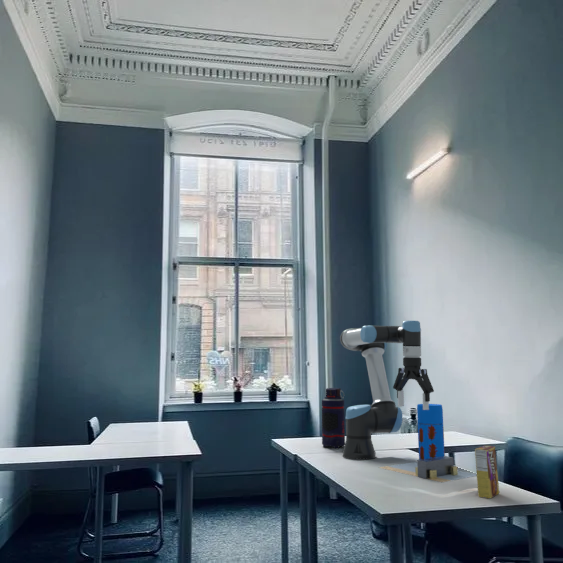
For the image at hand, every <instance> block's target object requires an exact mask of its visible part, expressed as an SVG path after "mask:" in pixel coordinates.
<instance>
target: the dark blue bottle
mask: <svg viewBox="0 0 563 563" xmlns="http://www.w3.org/2000/svg"><path fill="white" fill-rule="evenodd" d="M341 392H342V393H343V395H345V393H344V391H343V390H342V389H341V388H340V387H327V388H325V397H324V398H323V399H321V434H322V435H321V445H322V447H323V448H326V447H333V448H334V449H339V448H340V447H342V446H343V448H344V446H345V442H346V418H345V417H346V414H345V400H344V399H343V396H342V394H341Z"/></svg>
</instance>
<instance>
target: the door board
mask: <svg viewBox="0 0 563 563" xmlns="http://www.w3.org/2000/svg"><path fill="white" fill-rule="evenodd" d="M415 467H417V461H414V462H413V461H412V462H405V463H400V464H399V463H398V464H393V465H392V464H391V465H387V466H380V467H378V468H379V469H383V470H388V471H391V472H396V473H401V474H405V475H409V476H414V477H417V478H419V477H418V476H416V471H415ZM457 471H458V475H451V474H450V475H445V476H439V477H437V479H430V478H428V479H427V480H430V481H434V482H438V483H439V482H440V483H446V482H451V481H452V482H453V481H456V480H463V479H467V478H472V477H477V473H472V472H467V471H461V470H458V469H457Z"/></svg>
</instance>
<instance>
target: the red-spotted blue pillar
mask: <svg viewBox="0 0 563 563" xmlns="http://www.w3.org/2000/svg"><path fill="white" fill-rule="evenodd" d="M416 406H417V407H416V411H417V412H416V414H417V415H416V416H417V440H418V444H417V445H418V460H422V459H429V458H435V457H442V456H446V453H445V434H444V410H443V405H442V404H438V403H429V410H423V403H418V404H417V405H416Z"/></svg>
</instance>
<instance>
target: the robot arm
mask: <svg viewBox="0 0 563 563" xmlns="http://www.w3.org/2000/svg"><path fill="white" fill-rule="evenodd" d="M421 332H422V329H421V322H420V321H419V320H404V321H402V325H372V324H371V325H370V324H369V325H363V326H361V327H353V328H346V329H345V330H343V331H342V332H341V333H340V336H339V341H340V344H341V345H342V346H343V348H345V349H347V350H348V351H349V350H350V351H353V352H361V356H362V357H363V358H364V359H365V362H366V369H367V373H368V380H369V385H370V391H371V396H372V404H357V405H352V406H348V407H347V408H346V411H345V445H344V447H343V450H342V457H343V458H344V459H345V458H346V459H349V460H350V459H351V460H373V459H375V458H376V456H377V455H376V451H375V448H374V444H373V441H372V434H386V433H387V434H391V433H397V432H399V431H400V429H401V428H402V424H403V411H402V409H401V407H404V406H405V397H404V394H405V393H404V387H405V386H406V385H407V383H408V381H409V380H415V381H416V382H417V384H418V385H419V387H420V388H421V390H422V392H423V393H422V404H423V410H429V404H430V403H429V402H430V401H431V400H430V399H431V396H430V394H431V393H434V392H435V390H434V388H433V385H432V382H431V380H430V377H429V375H428V369H427V368H421V367H422V358H421V357H422V341H421V340H422V337H421V336H422V335H421ZM388 344H402V355H403V358H402V365H403V367H399V368H397V375H396V378H395V380H394V384H393V386H392V389H394V390H396V393H397V394H396V398H397V406H396V402H395V401H394V400H393V399H392V398H391V393H390V388H389V382H388V377H387V373H386V367H385V363H384V362H385V361H384V357H383V355H384V353H385V351H386V350H387V346H388Z"/></svg>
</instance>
